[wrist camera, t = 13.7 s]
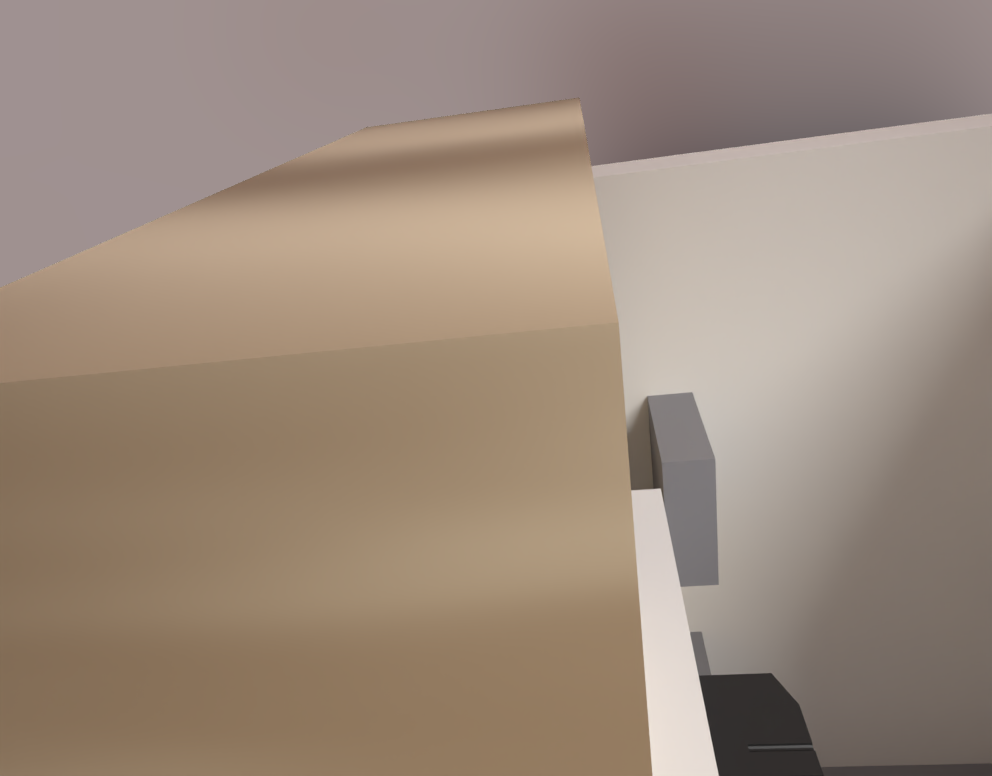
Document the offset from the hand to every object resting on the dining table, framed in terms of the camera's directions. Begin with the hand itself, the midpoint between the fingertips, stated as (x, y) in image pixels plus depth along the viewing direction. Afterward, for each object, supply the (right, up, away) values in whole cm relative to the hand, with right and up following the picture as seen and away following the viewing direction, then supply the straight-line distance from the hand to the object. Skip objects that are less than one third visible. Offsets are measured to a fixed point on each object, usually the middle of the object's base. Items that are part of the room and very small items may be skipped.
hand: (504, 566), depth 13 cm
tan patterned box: (+1, -9, +2) cm, 9 cm away
